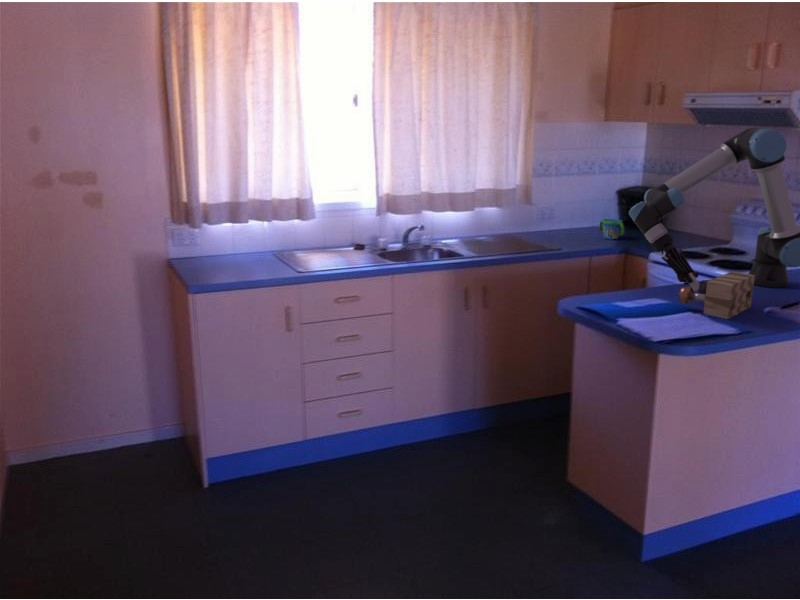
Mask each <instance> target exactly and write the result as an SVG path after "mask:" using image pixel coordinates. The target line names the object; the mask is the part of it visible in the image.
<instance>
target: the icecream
mask: <svg viewBox="0 0 800 600" xmlns="http://www.w3.org/2000/svg"><path fill="white" fill-rule="evenodd" d="M692 270H693V272H691V273H692V274H693V275H694V277H695V278H696V279H697V278H698V277H699V273H698V272H697V271H695V270H694V269H693V268H692ZM674 273H675V274H676V277H677V280H678V282H680V283H685V284H689V283H688V282H687V281H686V280H685V278H684V277H683V278H680V277H681V276H679V275H678V274H677V273H676V272H675V271H674Z"/></svg>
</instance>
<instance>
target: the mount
mask: <svg viewBox="0 0 800 600" xmlns="http://www.w3.org/2000/svg"><path fill="white" fill-rule="evenodd" d="M754 279H755V275H751V274H749V273H743V272H736V271H729V272H727V273H725V274H722V275H720V276H717V277H715V278H712V279H710V280H706V281H707V288H706V296H705V303H704V305H703V311H702V312H703V313H706V314H709V315H713V316H717V317H721V318H726V319H728V318H730V317H732V316H734V315H736V316H737V314H738V313H740V314H742V313H743V312H742V311H744V310H746V309H747V310H749V309H751V308H752V307H751V305H752V300H753V291H754V286H755V285H754ZM750 307H751V308H750ZM748 308H749V309H748ZM747 310H746V311H747ZM741 312H742V313H741ZM744 312H745V311H744ZM703 313H702V314H703ZM738 315H739V314H738ZM734 317H735V316H734ZM732 318H733V317H732ZM730 319H731V318H730Z"/></svg>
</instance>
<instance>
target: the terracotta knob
mask: <svg viewBox="0 0 800 600" xmlns="http://www.w3.org/2000/svg"><path fill="white" fill-rule="evenodd" d="M705 296H706V294H700V293H699V292H696V291H694V290H693V288H692V287H691V286H686V285H682V286H681V287H680V290H679V293H678V302H679V303H681V304H687V305H689V304H690V303H691V302H692V301H695V302H701V303H704V304H705Z"/></svg>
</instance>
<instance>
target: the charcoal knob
mask: <svg viewBox="0 0 800 600" xmlns="http://www.w3.org/2000/svg"><path fill="white" fill-rule="evenodd" d="M707 281H708V280H704V279H703V280H702V281H701V282H700V286H699V289H698V293H700V294H706V288H707Z"/></svg>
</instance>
